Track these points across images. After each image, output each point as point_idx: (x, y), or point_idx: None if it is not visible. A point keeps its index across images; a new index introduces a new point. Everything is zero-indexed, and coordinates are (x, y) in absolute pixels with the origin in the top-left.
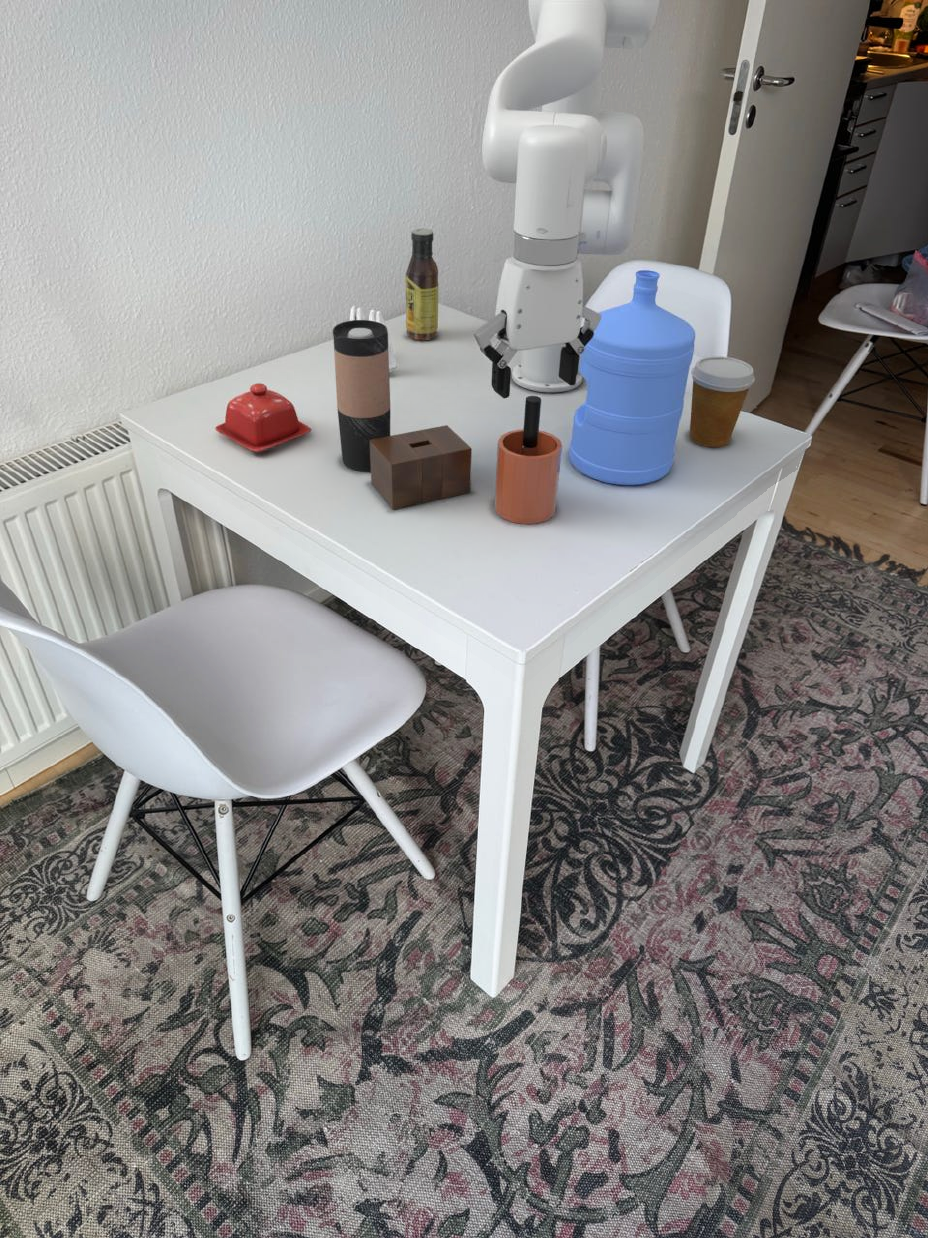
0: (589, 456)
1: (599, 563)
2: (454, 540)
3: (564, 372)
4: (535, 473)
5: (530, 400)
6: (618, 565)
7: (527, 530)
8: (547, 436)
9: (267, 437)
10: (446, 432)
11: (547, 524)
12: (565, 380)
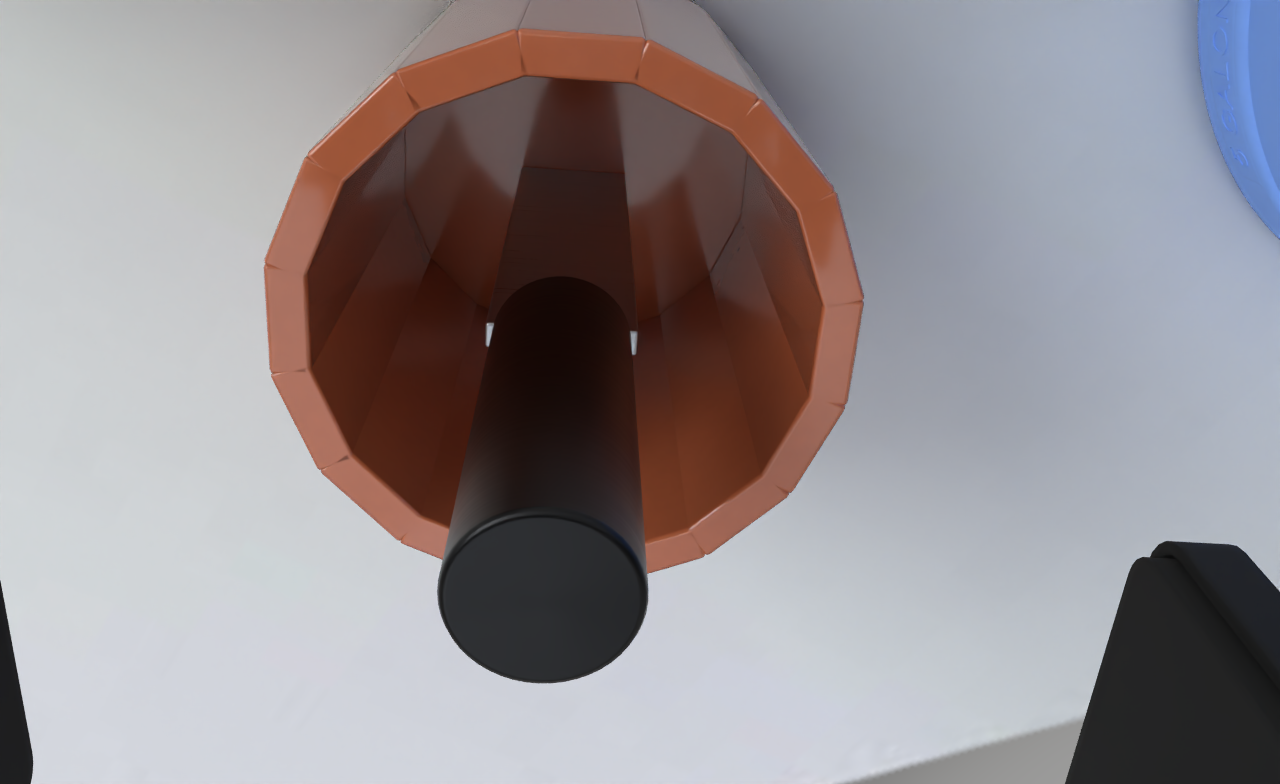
0: (1271, 55)
1: (620, 734)
2: (9, 274)
3: (1148, 775)
4: None
5: (475, 625)
6: (686, 775)
7: None
8: (810, 270)
9: None
10: None
11: None
12: (1091, 732)
